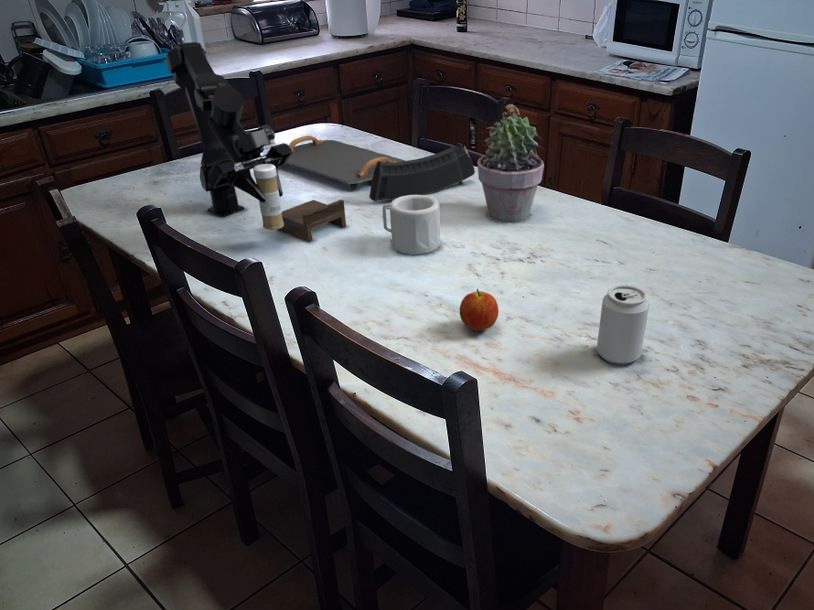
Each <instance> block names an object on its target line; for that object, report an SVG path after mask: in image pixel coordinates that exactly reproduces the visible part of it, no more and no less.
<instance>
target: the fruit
mask: <svg viewBox="0 0 814 610" xmlns="http://www.w3.org/2000/svg"><path fill="white" fill-rule="evenodd" d="M498 304H499V303H498V302H497V299H496V298H495V297H494V296H493V295H492V294H490V293H489V292H486V291H482V290H481V291H480V290H479V288H476V291H472V292H470V293H468V294H466V295H465V296H464V297H463V298H462V300H461V302H460V305H459V317H460V320H461V322H462V323H463V324H464V326H466V327H467V328H468V329H469V330H472V331H476V332H478V331H486V330H488V329H490V328H491V327H493V326H494V324H495V323H496V321H497V319H498V317H499V305H498Z"/></svg>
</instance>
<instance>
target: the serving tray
mask: <svg viewBox="0 0 814 610" xmlns="http://www.w3.org/2000/svg"><path fill="white" fill-rule="evenodd" d="M306 141H307V143H304V142H306ZM308 141H312V142H308ZM301 143H302V144H301ZM288 145H289V147H290V148H291V150H292V151H293V153H292V154H291V156H290V157H289V159H288V160H287V162H286V163H285V165H287V166H288V165H289V166H290V167H294V168H297V169H300V170H303V171H306V172H310V173H313V174H316V175H318V176H322V177H325V178H328V179H331V180H334V181H337V182H340V183H343V184H346V185H348V186H349V189H350V191H352V192H356V191H357V190H358V184H363V183H366V182H372V179H373V174H374V169H375V167H376V165H377V162H378V161H381V162H385V163H393V162H402V161H406V160H405V159H401V158H399V157H394V156H392V155H389V154H385V153H381V152H376V151H374V150H370V149H368V148H364V147H359V146H356V145H354V144H349V143H345V142H341V141H338V140H336V139H335V140H334V139H325V140H322V139H318V138H317V137H315V136H313V135H304V136H299V137H297V138H295V139H293V140H292V141H290V142H289V144H288Z"/></svg>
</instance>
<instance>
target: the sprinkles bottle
mask: <svg viewBox="0 0 814 610" xmlns="http://www.w3.org/2000/svg"><path fill="white" fill-rule="evenodd" d="M252 170H253V176H254V179H255V183H256V184H257V186H258V187H259V189H260V190H261V192H262V193H263V195H264V197H265V199H266V201H265V202H264V203H262V202H261V201H259V200H258V201H259V202H258V204H259V208H260V214H261V219H262V228H263V229H265V230H268V231H278V229H280V228H282V227H283V226H284V222H283V218H282V211H283V210H282V205H281V204H282V203H281V197H280V196H279V191H278V185H277V179H276V177H277V176H276V175H277V173H276V167H275V166H274V165H272V164H260V165H257V166H255V167H254V168H253V169H252Z"/></svg>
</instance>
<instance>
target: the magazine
mask: <svg viewBox="0 0 814 610" xmlns="http://www.w3.org/2000/svg"><path fill="white" fill-rule="evenodd" d="M475 173H476V170H475V166H474V163H473V159H472V157H470V155H469V152H468V149H467V148H466V146H465V145H464V146H463V144H462V143H461V142H456V144H454V146H451V147H449V148H446V149H445V150H442V151H440V152H437V153H434V154H431V155H428V156H425V157H420V158H416V159H409V160H405V161H402V162H393V163H385V162H381V161H378V162H377V165H376V167H375V169H374V174H373V179H372V180H371V185H370V190H369V195H368V198H369V199H370V201H372V202H379V201H391V200H392V201H393V200H394V199H396V198H399V197H402V196H407V195H425V196H427V195H430V194H433V193H436V192H440V191H442V190H444V189H447V188H449V187H451V186H454V185H457V184H460V185H463V182H464V181H465V180H467V179H469V178H471V177H472V176H474V175H475Z"/></svg>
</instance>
